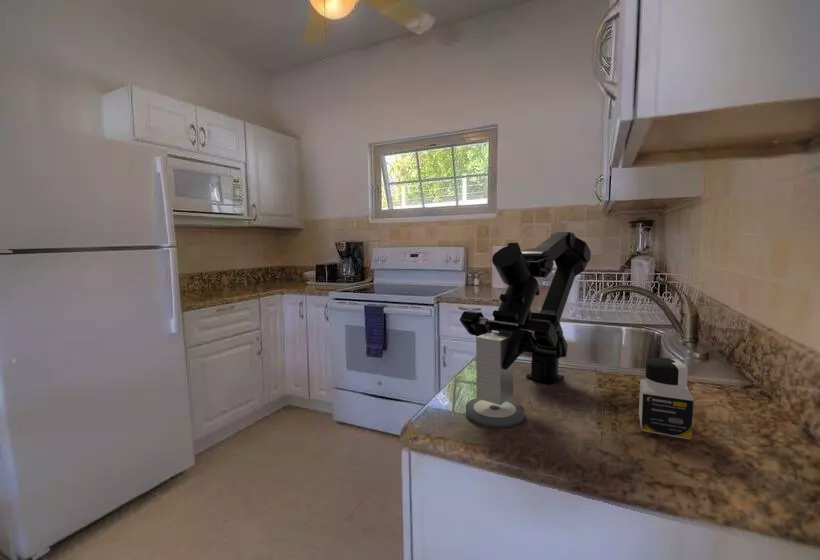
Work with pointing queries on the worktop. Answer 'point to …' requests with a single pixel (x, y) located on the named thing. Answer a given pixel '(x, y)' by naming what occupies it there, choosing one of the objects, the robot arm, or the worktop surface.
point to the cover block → (493, 368)
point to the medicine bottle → (666, 399)
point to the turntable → (495, 413)
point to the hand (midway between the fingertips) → (491, 365)
